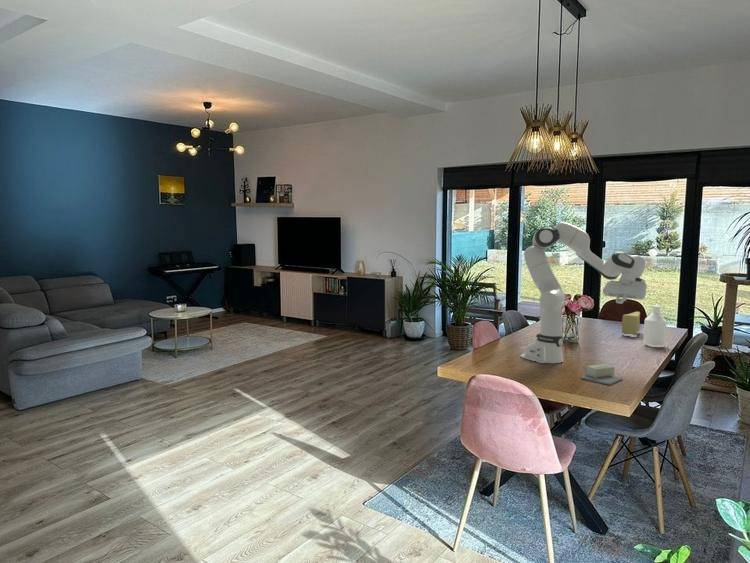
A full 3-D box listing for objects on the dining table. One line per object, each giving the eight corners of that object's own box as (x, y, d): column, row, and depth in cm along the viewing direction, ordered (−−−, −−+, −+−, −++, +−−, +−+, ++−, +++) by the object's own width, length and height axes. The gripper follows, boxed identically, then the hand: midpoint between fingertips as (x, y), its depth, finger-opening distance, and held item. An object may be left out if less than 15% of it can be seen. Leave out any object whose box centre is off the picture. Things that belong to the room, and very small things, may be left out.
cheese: (630, 331, 379) (631, 310, 378) (645, 333, 373) (646, 312, 372) (620, 336, 362) (622, 314, 361) (636, 338, 356) (638, 315, 355)
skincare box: (604, 372, 266) (585, 374, 261) (604, 363, 266) (586, 365, 261) (614, 375, 261) (596, 378, 256) (615, 366, 260) (596, 369, 255)
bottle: (659, 344, 339) (662, 304, 336) (667, 348, 327) (670, 307, 324) (639, 343, 340) (642, 304, 337) (647, 347, 328) (650, 306, 325)
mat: (580, 378, 257) (580, 377, 257) (593, 373, 266) (594, 372, 266) (609, 385, 246) (609, 383, 246) (622, 380, 256) (622, 378, 256)
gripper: (606, 276, 283) (596, 296, 277) (647, 279, 268) (638, 301, 262) (609, 284, 286) (600, 304, 281) (650, 288, 271) (641, 309, 266)
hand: (618, 302), depth 271 cm, fingers closed
